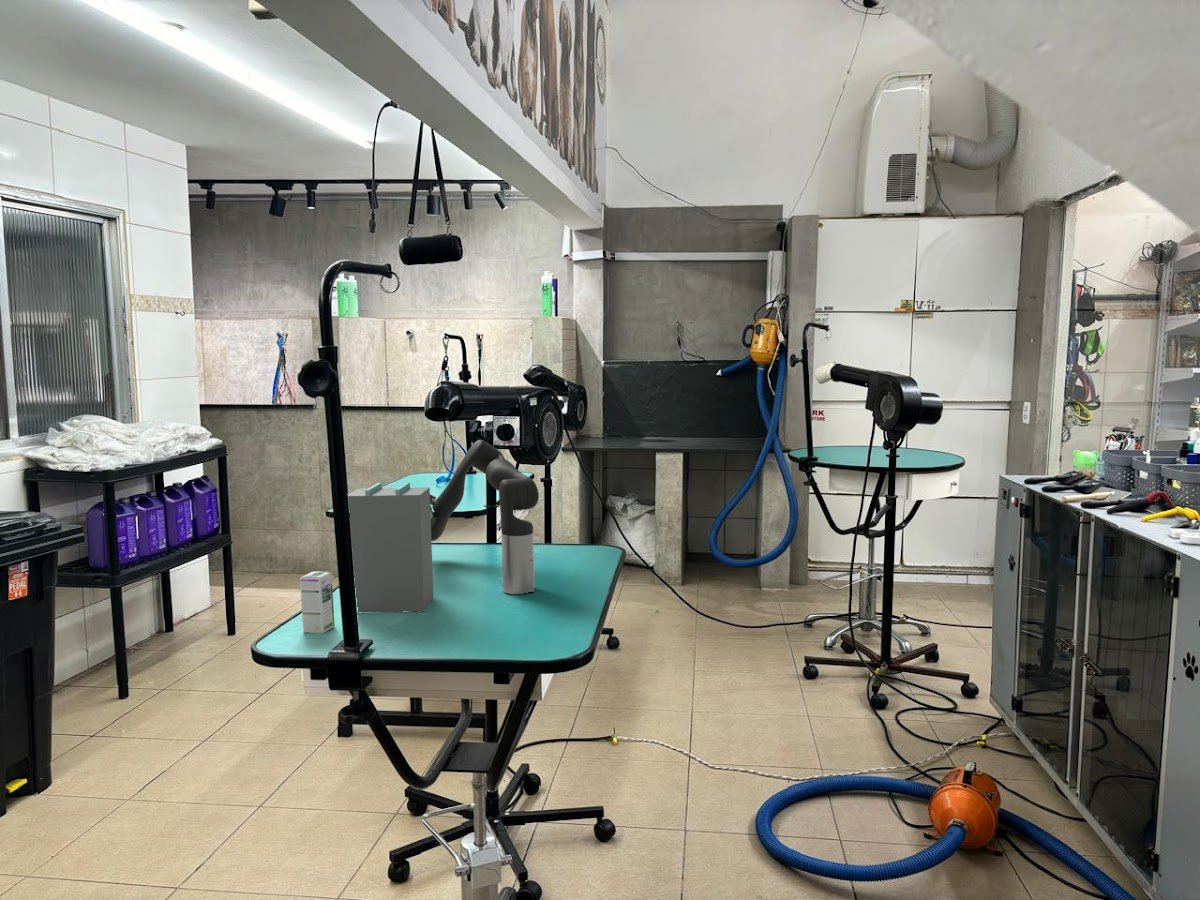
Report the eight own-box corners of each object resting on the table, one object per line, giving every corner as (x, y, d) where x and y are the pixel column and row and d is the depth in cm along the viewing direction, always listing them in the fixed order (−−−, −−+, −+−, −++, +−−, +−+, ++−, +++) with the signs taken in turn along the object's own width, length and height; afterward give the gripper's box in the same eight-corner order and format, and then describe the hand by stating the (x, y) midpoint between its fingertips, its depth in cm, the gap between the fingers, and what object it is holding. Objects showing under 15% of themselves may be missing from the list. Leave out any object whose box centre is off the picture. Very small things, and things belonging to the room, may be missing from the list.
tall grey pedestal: (433, 597, 243) (429, 482, 240) (424, 611, 229) (419, 489, 226) (363, 598, 243) (358, 483, 240) (349, 613, 229) (344, 490, 226)
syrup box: (323, 633, 212) (320, 577, 210) (302, 632, 213) (299, 576, 211) (335, 626, 217) (332, 571, 216) (314, 625, 218) (311, 570, 217)
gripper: (398, 499, 277) (386, 479, 261) (441, 498, 277) (432, 479, 261) (396, 521, 274) (384, 502, 258) (440, 520, 274) (431, 501, 258)
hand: (409, 490), depth 260 cm, fingers closed on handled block, 3 cm apart
